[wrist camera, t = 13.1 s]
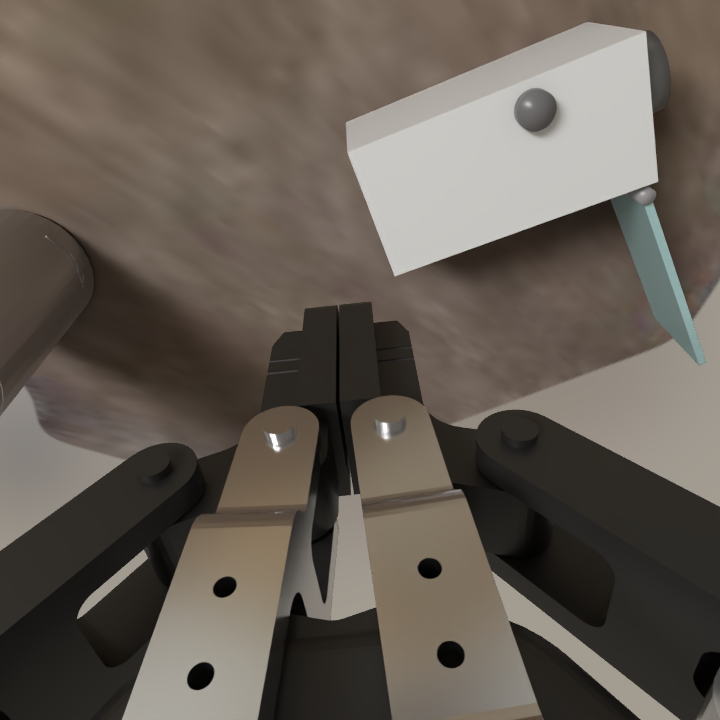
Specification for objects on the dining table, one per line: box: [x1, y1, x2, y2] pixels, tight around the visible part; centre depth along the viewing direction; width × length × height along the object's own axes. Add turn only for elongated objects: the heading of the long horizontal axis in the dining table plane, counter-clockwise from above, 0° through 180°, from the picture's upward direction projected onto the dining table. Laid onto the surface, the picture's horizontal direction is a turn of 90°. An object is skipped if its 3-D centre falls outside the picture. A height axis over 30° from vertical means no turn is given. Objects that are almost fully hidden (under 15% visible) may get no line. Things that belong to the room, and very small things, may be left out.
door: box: [610, 186, 706, 365], centre depth 39 cm, size 15×1×7 cm, turn 32°
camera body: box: [346, 22, 670, 276], centre depth 34 cm, size 18×8×9 cm, turn 111°
